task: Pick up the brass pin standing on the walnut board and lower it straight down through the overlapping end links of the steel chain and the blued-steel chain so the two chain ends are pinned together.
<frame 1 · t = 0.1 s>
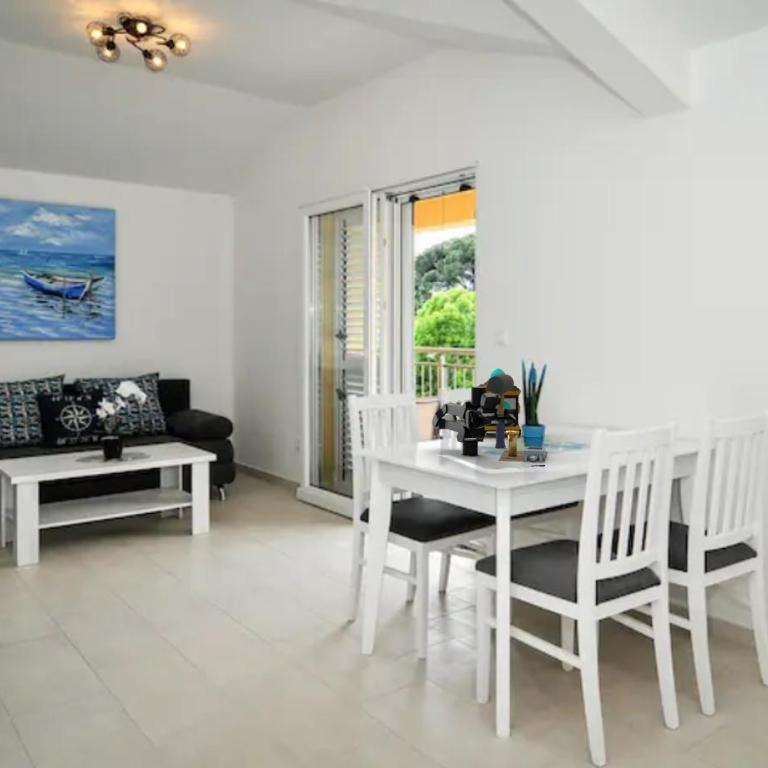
hand: (503, 421, 258), 17 cm above the table, tool horizontal, fingers open, 9 cm apart
board: (523, 460, 279), on the table
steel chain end: (535, 452, 282), on the board, point 2 cm above the table
rubber mallet: (500, 452, 299), on the table
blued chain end: (534, 454, 274), on the board, point 2 cm above the table
decorative lantern: (497, 435, 346), on the table
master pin: (512, 455, 280), point 1 cm above the table, touching board
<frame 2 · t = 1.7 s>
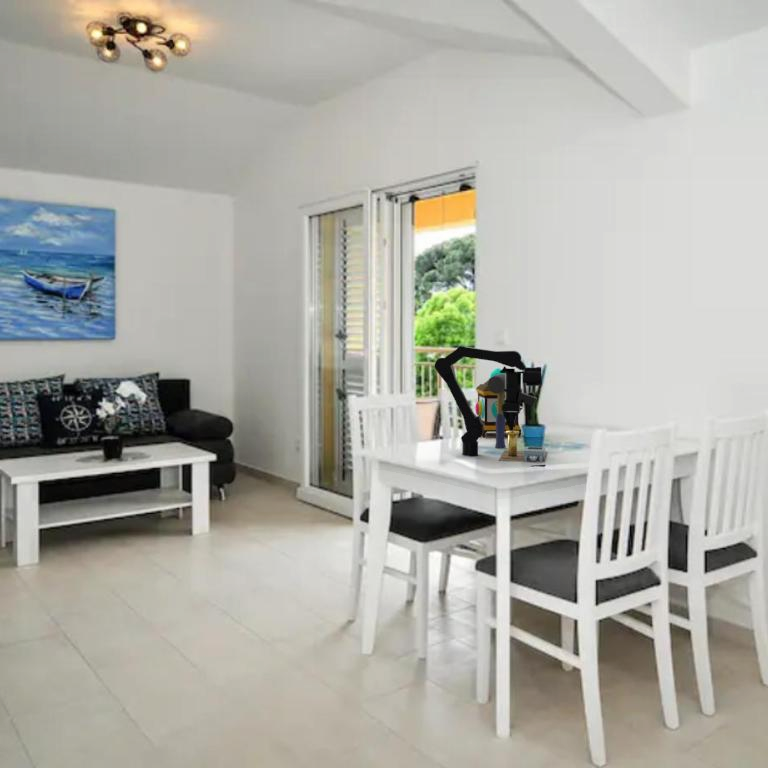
hand: (512, 428, 279), 11 cm above the table, tool pointing down, fingers open, 9 cm apart
nothing on the table moved.
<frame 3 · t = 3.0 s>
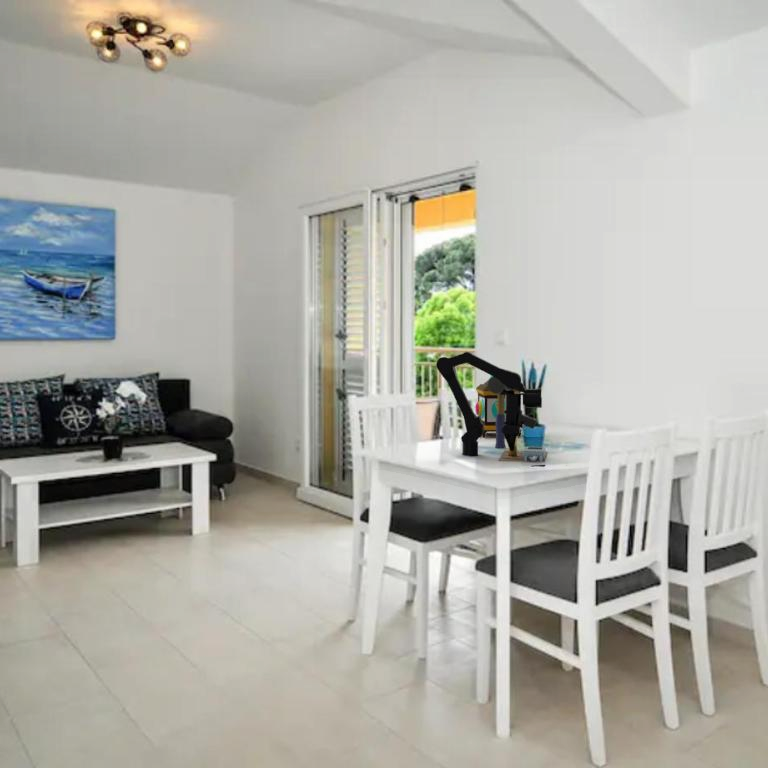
hand: (512, 450, 280), 4 cm above the table, tool pointing down, fingers closed on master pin, 3 cm apart
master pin: (512, 455, 280), point 1 cm above the table, touching board, gripper
everything else where it was.
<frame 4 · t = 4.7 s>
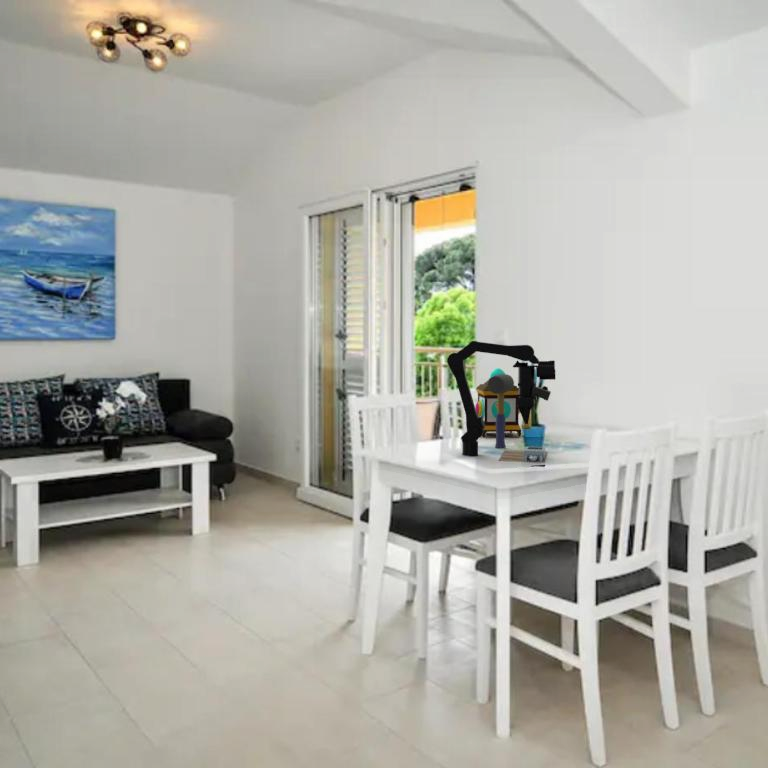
hand: (526, 423, 278), 13 cm above the table, tool pointing down, fingers closed on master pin, 3 cm apart
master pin: (526, 428, 278), point 11 cm above the table, touching gripper
everything else where it was.
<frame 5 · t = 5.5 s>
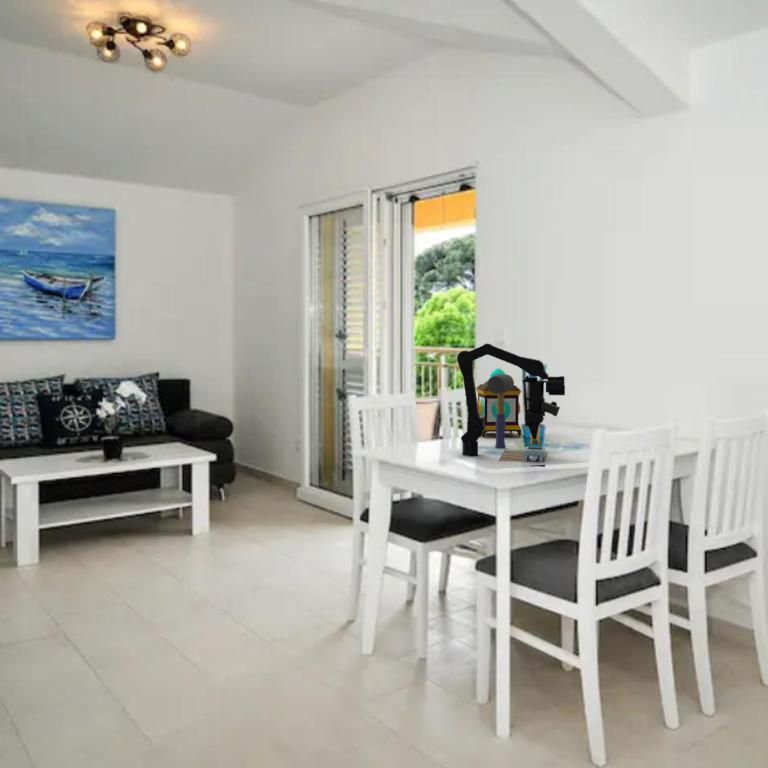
hand: (534, 438, 278), 8 cm above the table, tool pointing down, fingers closed on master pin, 3 cm apart
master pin: (534, 443, 278), point 6 cm above the table, touching gripper
everything else where it was.
when the fingers open (5 cm above the table, at t = 6.3 s): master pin drops 2 cm, resting on board.
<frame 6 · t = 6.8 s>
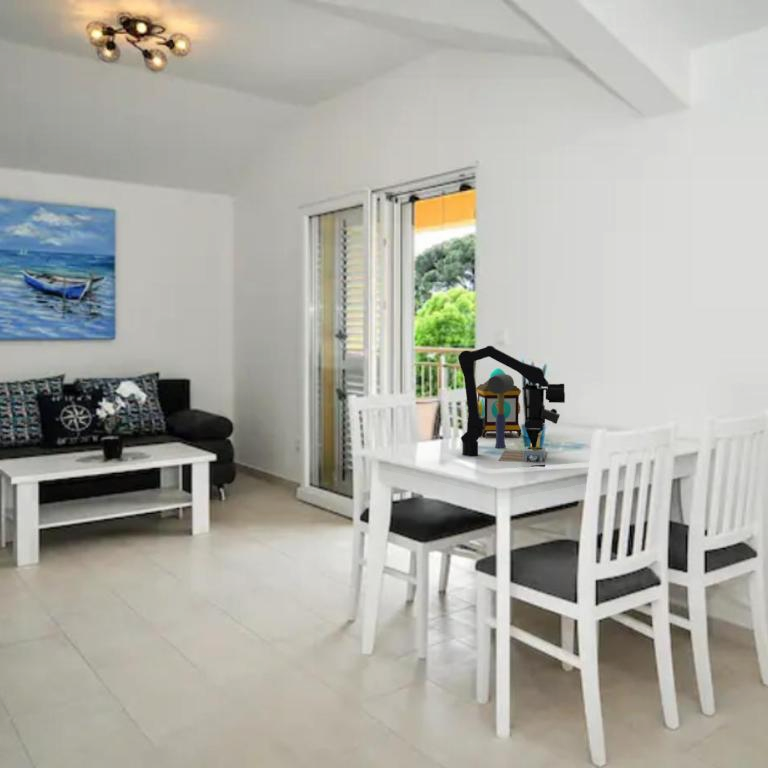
hand: (534, 445, 278), 5 cm above the table, tool pointing down, fingers open, 9 cm apart
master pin: (534, 456, 278), point 2 cm above the table, touching board
everything else where it was.
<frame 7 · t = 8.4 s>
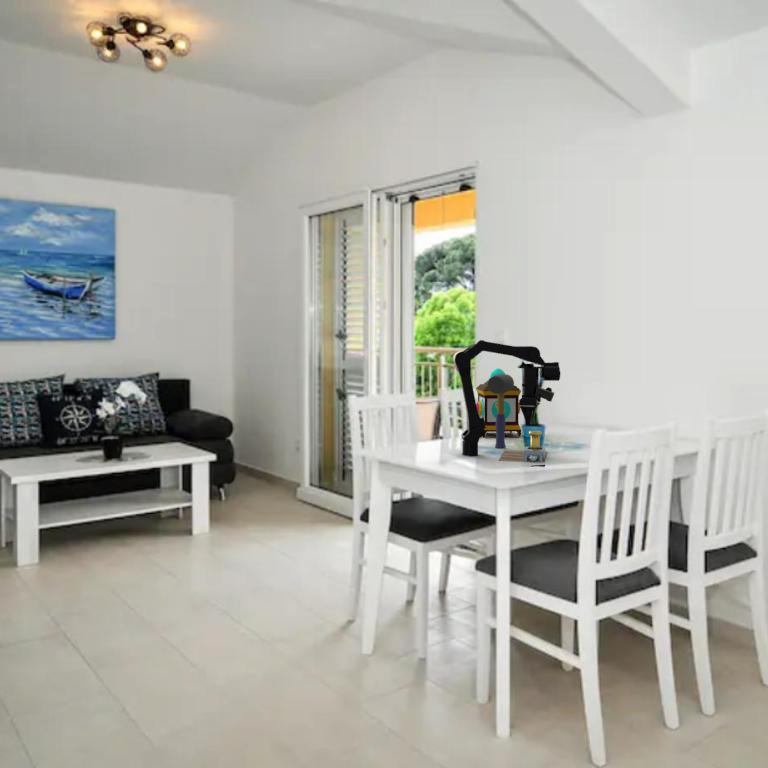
hand: (529, 423, 283), 13 cm above the table, tool pointing down, fingers open, 9 cm apart
nothing on the table moved.
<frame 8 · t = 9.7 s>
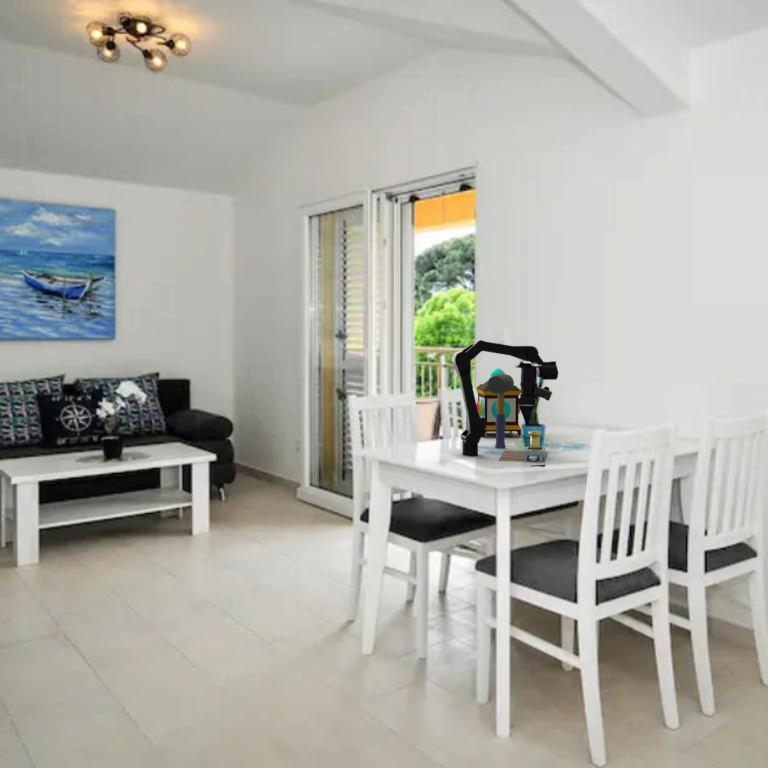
hand: (528, 422, 284), 13 cm above the table, tool pointing down, fingers open, 9 cm apart
nothing on the table moved.
at the end: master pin 0.1 cm from the target spot on the board, point 1.5 cm above the board's base; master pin tilted 0°; the gripper is holding nothing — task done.
